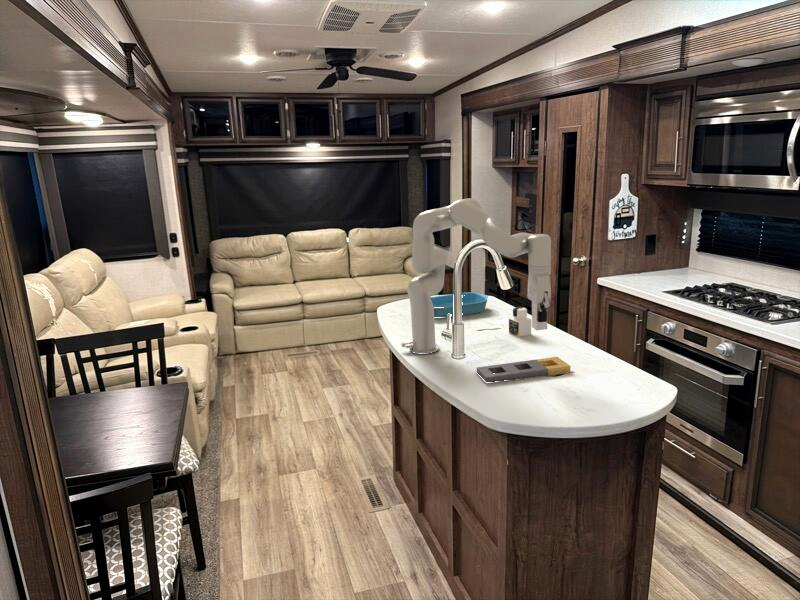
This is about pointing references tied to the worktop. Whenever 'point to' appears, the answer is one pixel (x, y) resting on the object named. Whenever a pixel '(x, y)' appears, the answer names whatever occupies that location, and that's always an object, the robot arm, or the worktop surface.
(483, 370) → the rail
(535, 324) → the steel peg
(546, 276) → the robot arm
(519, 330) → the medicine bottle
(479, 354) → the worktop surface
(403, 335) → the worktop surface
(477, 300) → the casserole dish
